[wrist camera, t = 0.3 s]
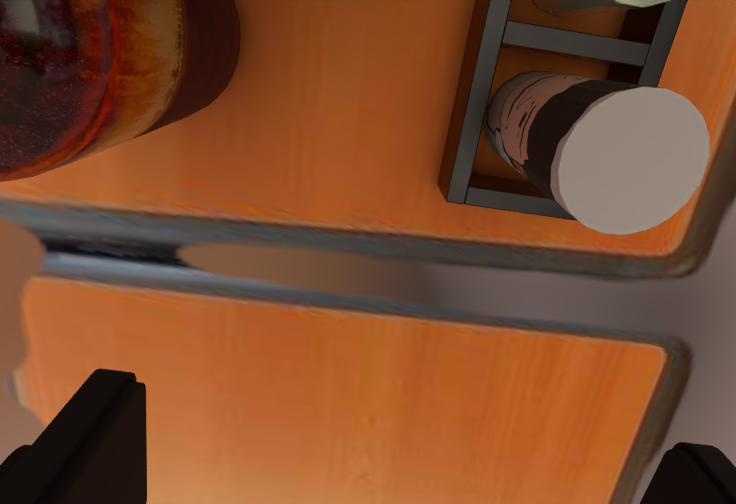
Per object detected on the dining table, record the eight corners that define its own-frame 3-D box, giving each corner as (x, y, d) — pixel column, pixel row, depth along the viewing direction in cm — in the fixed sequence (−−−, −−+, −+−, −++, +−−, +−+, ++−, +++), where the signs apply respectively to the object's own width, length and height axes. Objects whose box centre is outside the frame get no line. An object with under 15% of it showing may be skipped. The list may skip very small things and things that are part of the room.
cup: (580, 66, 35) (723, 80, 21) (573, 161, 38) (696, 229, 24) (484, 75, 35) (563, 93, 21) (484, 168, 38) (553, 240, 24)
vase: (130, 131, 36) (-327, 298, 12) (56, -36, 32) (-843, -272, 8) (273, 90, 35) (79, 185, 11) (215, -88, 31) (-283, -532, 7)
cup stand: (437, 185, 38) (445, 201, 34) (510, -167, 30) (533, -202, 26) (582, 206, 39) (608, 225, 35) (693, -132, 31) (745, -160, 26)
